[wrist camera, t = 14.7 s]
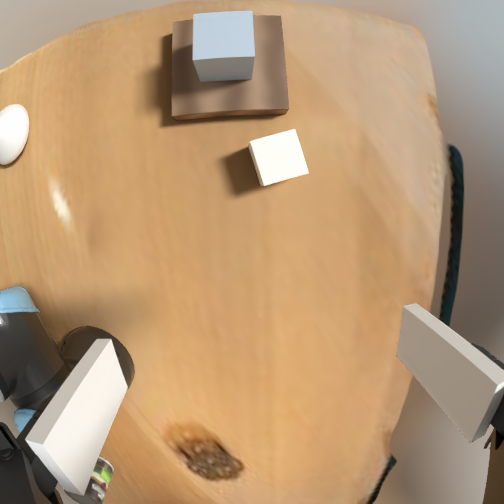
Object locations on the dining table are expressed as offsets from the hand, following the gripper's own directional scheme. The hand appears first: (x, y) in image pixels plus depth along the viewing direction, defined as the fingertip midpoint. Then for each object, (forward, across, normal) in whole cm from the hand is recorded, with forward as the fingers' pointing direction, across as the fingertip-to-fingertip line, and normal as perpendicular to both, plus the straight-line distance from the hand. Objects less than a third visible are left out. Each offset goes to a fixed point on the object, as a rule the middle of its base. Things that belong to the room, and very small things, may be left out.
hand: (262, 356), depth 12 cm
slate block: (+30, 0, +25) cm, 39 cm away
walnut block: (+34, 0, +25) cm, 42 cm away
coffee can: (+34, -46, -58) cm, 82 cm away
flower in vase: (+34, -40, +23) cm, 57 cm away
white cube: (+33, +6, +10) cm, 35 cm away
